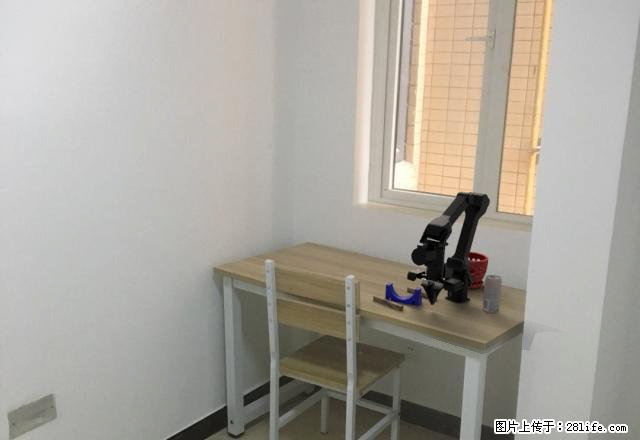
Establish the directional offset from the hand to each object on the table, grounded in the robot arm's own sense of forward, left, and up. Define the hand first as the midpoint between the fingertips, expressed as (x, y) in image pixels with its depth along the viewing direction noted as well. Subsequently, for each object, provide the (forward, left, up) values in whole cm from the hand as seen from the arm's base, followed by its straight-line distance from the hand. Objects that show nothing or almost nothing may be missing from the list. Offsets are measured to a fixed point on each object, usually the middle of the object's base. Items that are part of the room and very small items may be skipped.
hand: (432, 304), depth 201 cm
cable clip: (+12, +1, -2) cm, 12 cm away
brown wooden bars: (+12, 0, -2) cm, 12 cm away
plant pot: (+10, -33, -2) cm, 34 cm away
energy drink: (-12, -16, -2) cm, 20 cm away
